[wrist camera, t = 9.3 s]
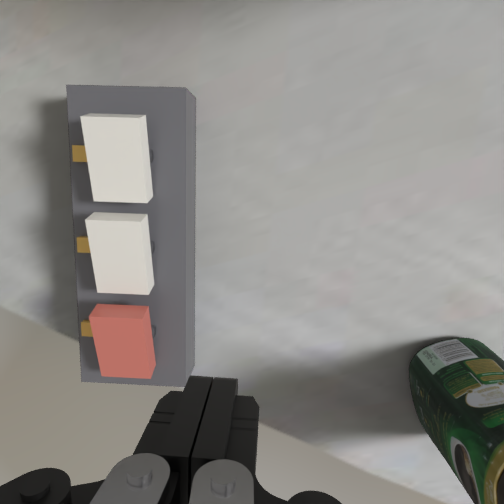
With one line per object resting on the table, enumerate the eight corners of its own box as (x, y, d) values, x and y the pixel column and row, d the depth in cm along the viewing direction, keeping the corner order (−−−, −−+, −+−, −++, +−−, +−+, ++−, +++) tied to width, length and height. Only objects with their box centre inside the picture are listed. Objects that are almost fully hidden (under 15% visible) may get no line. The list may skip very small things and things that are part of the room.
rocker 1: (89, 113, 29) (80, 116, 27) (145, 114, 28) (138, 117, 27) (102, 194, 31) (93, 201, 30) (153, 196, 31) (147, 203, 30)
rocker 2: (94, 212, 30) (84, 219, 28) (147, 214, 30) (140, 221, 28) (105, 282, 32) (97, 292, 31) (154, 284, 32) (148, 295, 31)
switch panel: (89, 95, 34) (59, 81, 29) (195, 97, 34) (183, 84, 29) (100, 360, 38) (76, 387, 34) (194, 365, 38) (183, 393, 33)
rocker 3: (97, 303, 31) (88, 316, 30) (148, 306, 31) (142, 318, 30) (108, 362, 34) (101, 376, 33) (155, 364, 34) (150, 378, 32)
